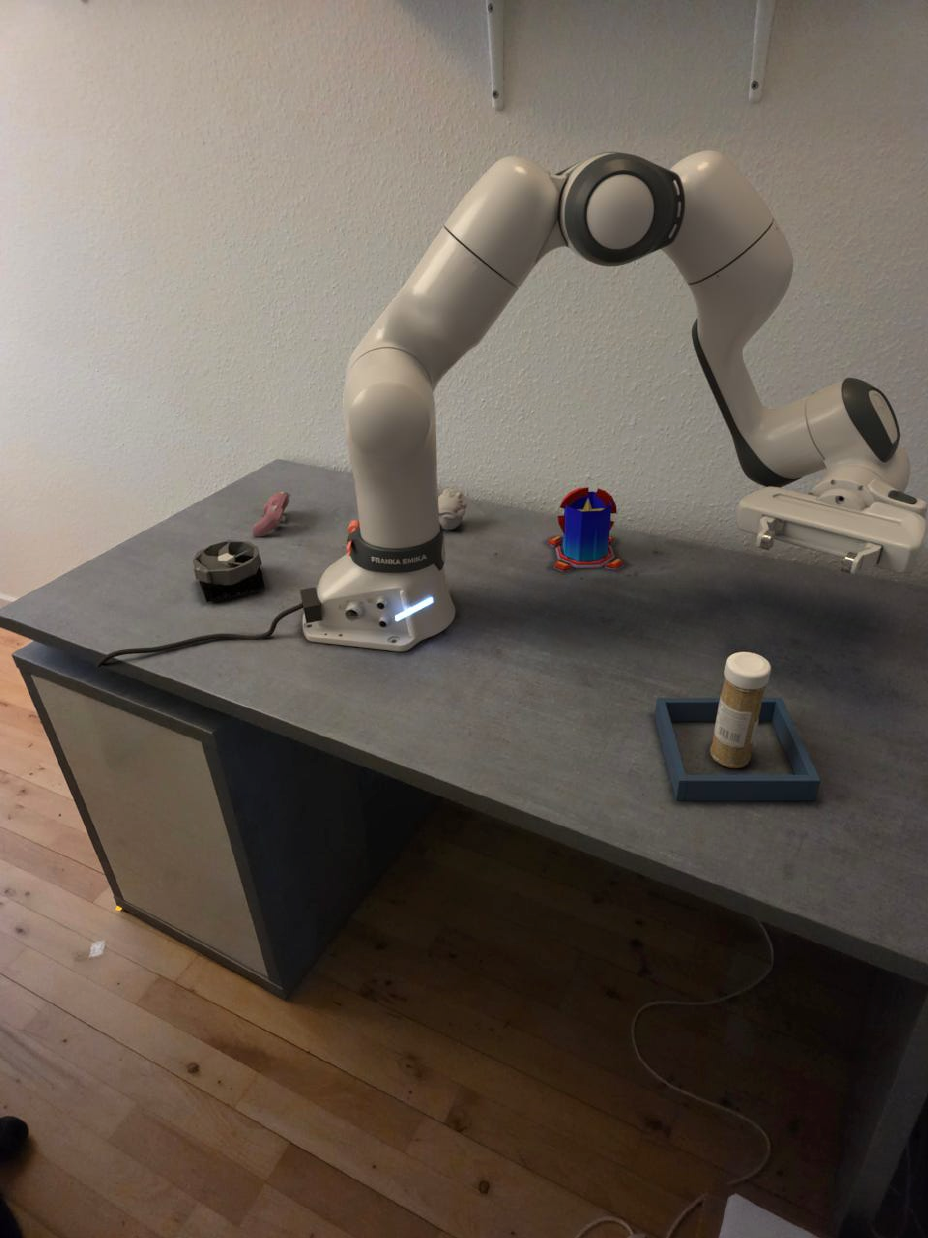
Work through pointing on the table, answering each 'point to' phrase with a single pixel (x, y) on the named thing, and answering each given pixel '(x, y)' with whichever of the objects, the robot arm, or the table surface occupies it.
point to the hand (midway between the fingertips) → (804, 554)
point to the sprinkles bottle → (739, 708)
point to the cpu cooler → (228, 570)
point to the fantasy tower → (586, 532)
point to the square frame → (736, 785)
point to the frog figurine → (451, 508)
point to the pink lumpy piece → (272, 514)
